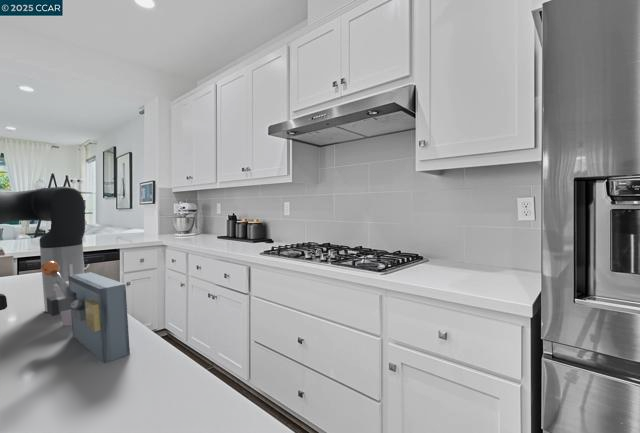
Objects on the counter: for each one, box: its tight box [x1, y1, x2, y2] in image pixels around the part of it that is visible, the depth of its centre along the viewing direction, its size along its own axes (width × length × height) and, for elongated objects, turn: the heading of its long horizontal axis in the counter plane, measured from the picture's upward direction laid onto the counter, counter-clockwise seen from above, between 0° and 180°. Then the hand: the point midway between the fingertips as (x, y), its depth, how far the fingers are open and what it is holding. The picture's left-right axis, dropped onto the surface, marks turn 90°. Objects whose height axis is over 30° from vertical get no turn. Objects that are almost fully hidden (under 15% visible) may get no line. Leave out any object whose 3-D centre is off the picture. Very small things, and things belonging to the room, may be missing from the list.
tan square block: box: [85, 300, 101, 332], centre depth 60 cm, size 5×4×5 cm
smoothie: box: [53, 264, 73, 327], centre depth 78 cm, size 6×6×14 cm
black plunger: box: [47, 296, 73, 317], centre depth 66 cm, size 4×4×3 cm
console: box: [68, 271, 131, 364], centre depth 65 cm, size 20×5×13 cm, turn 50°
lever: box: [40, 261, 84, 310], centre depth 61 cm, size 3×3×10 cm
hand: (5, 300), depth 50 cm, fingers closed
